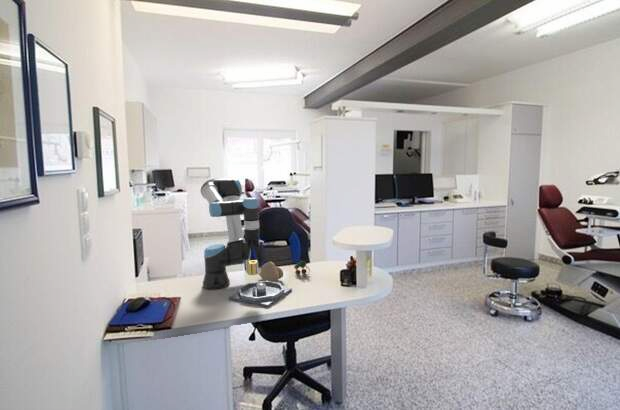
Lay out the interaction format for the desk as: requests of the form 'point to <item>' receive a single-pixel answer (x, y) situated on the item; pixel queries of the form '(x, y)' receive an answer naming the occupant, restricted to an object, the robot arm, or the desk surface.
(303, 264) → the binoculars
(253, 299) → the tray
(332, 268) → the desk surface
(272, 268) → the brown rounded piece
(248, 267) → the planet gear
